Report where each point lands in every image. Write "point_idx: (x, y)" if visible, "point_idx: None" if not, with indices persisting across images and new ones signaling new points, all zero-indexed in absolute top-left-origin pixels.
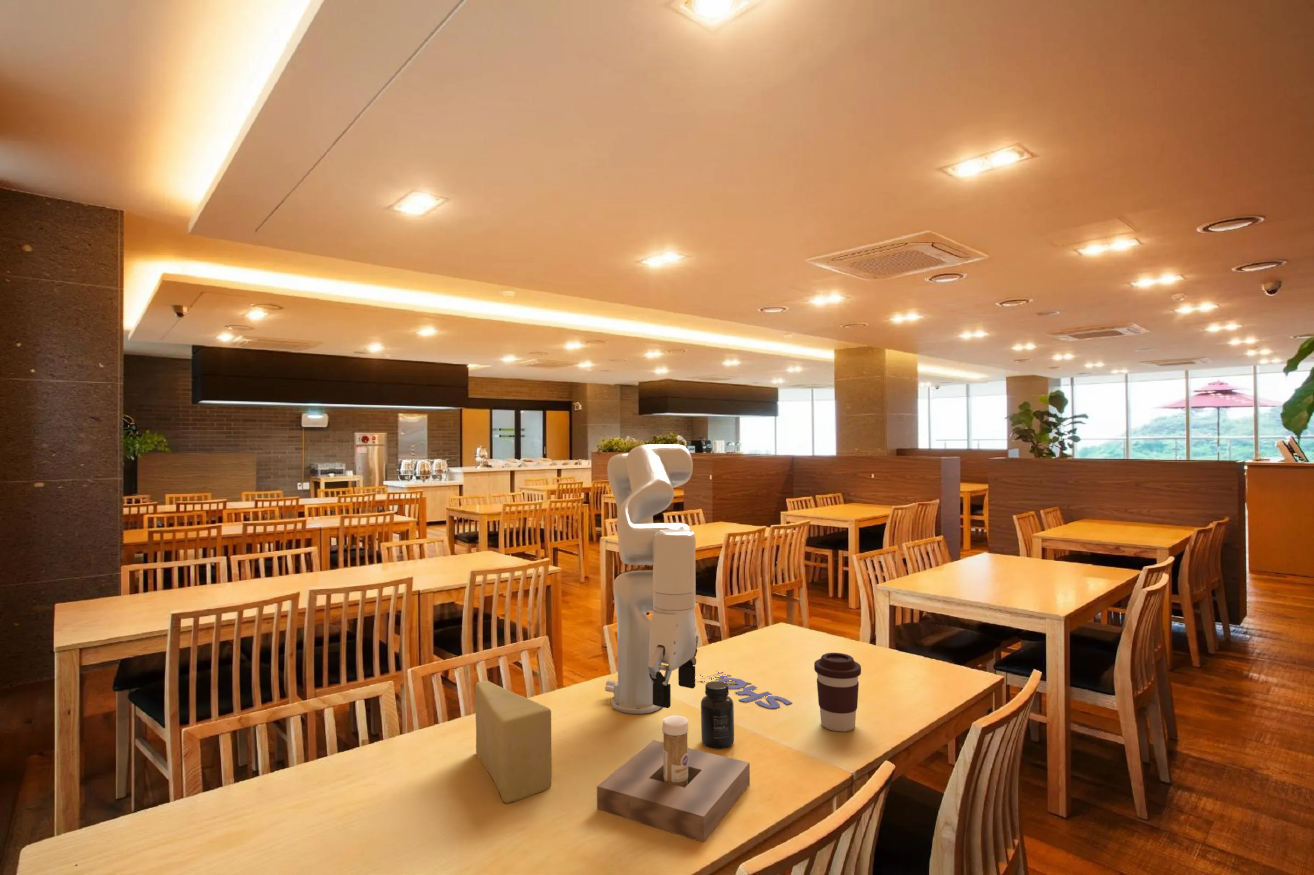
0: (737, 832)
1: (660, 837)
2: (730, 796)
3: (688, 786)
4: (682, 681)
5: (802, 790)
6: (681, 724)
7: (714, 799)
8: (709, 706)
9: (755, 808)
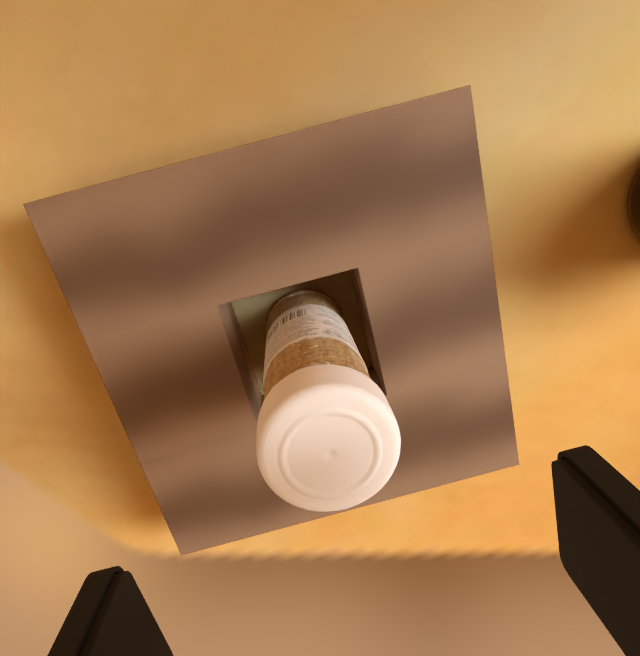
0: (282, 530)
1: None
2: None
3: None
4: (578, 520)
5: (537, 525)
6: (310, 509)
7: (270, 522)
8: None
9: (395, 500)
